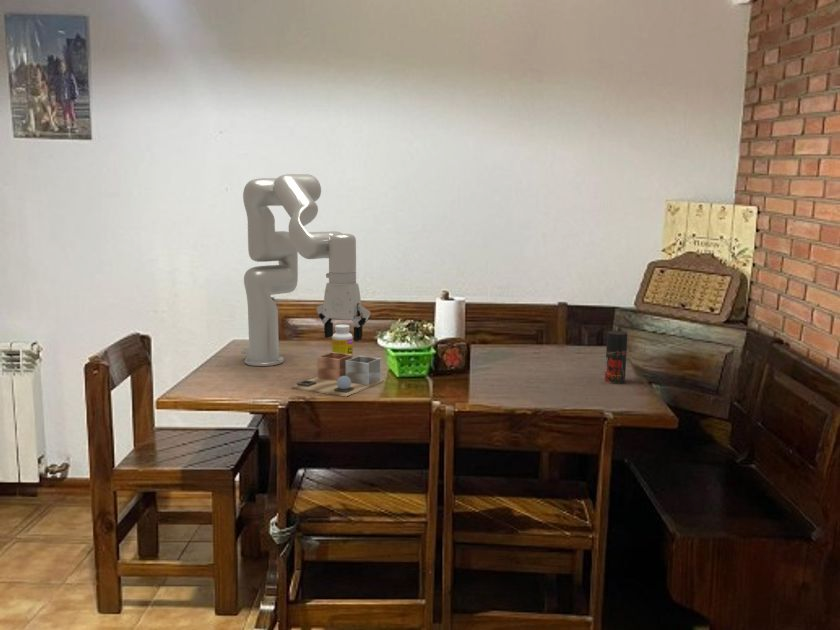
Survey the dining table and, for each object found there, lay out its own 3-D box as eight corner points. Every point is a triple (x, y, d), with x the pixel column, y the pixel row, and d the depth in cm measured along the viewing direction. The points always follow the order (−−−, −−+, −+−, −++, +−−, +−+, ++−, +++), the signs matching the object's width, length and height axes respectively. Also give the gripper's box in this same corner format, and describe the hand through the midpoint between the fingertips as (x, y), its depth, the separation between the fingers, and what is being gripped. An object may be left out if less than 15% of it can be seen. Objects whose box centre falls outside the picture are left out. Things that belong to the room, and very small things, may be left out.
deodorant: (600, 379, 247) (603, 331, 245) (617, 378, 250) (619, 330, 247) (612, 384, 242) (614, 335, 239) (629, 382, 244) (631, 333, 242)
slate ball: (334, 390, 230) (334, 376, 229) (342, 387, 234) (341, 373, 233) (346, 392, 228) (346, 378, 228) (353, 388, 232) (353, 375, 231)
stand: (291, 388, 235) (290, 364, 234) (330, 373, 252) (330, 351, 251) (346, 397, 226) (346, 372, 225) (383, 381, 243) (383, 358, 242)
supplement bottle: (349, 367, 260) (349, 328, 258) (329, 366, 262) (329, 327, 259) (355, 362, 267) (355, 324, 265) (335, 361, 268) (335, 323, 266)
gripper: (309, 277, 227) (310, 338, 230) (362, 282, 219) (362, 344, 222) (324, 275, 234) (325, 333, 237) (376, 278, 226) (376, 339, 229)
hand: (343, 338), depth 230 cm, fingers open, 9 cm apart
